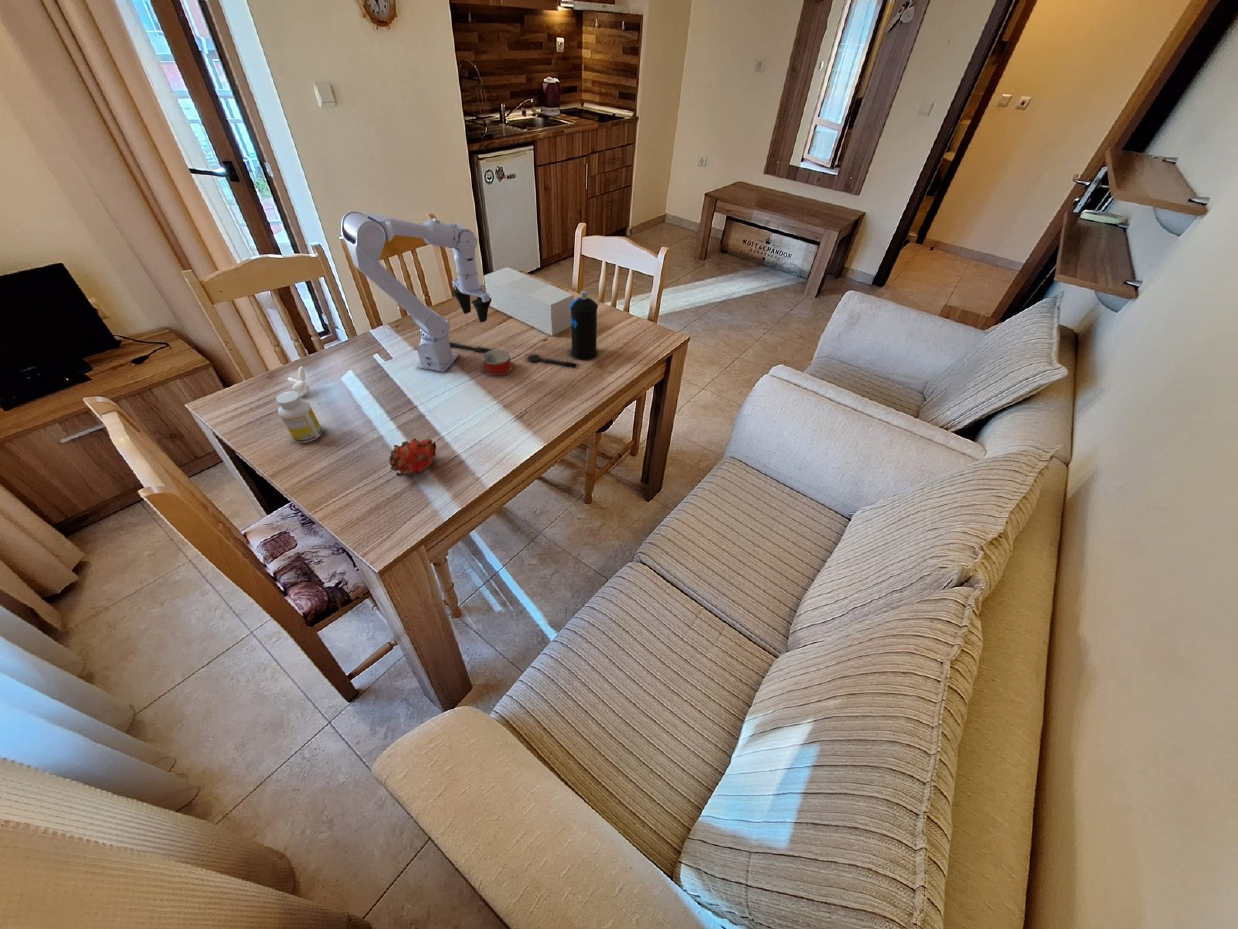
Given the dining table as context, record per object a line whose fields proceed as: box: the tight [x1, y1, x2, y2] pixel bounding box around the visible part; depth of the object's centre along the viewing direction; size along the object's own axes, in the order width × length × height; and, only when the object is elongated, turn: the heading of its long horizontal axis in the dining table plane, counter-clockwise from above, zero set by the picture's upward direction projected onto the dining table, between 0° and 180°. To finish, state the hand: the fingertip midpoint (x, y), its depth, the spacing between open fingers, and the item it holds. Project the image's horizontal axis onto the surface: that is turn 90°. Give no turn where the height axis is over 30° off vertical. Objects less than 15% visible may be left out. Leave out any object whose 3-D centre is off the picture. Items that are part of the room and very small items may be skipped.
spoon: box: [527, 354, 577, 368], centre depth 145 cm, size 4×15×1 cm, turn 77°
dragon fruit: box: [388, 437, 437, 477], centre depth 108 cm, size 8×8×12 cm
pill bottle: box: [275, 390, 323, 444], centre depth 113 cm, size 6×6×12 cm
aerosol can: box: [570, 290, 599, 361], centre depth 143 cm, size 8×8×20 cm
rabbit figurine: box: [287, 365, 309, 397], centre depth 128 cm, size 6×4×8 cm
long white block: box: [483, 266, 575, 337], centre depth 163 cm, size 32×11×11 cm, turn 51°
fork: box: [449, 342, 491, 354], centre depth 149 cm, size 2×15×1 cm, turn 77°
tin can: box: [482, 349, 513, 377], centre depth 140 cm, size 8×8×4 cm
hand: (475, 316), depth 144 cm, fingers open, 7 cm apart
